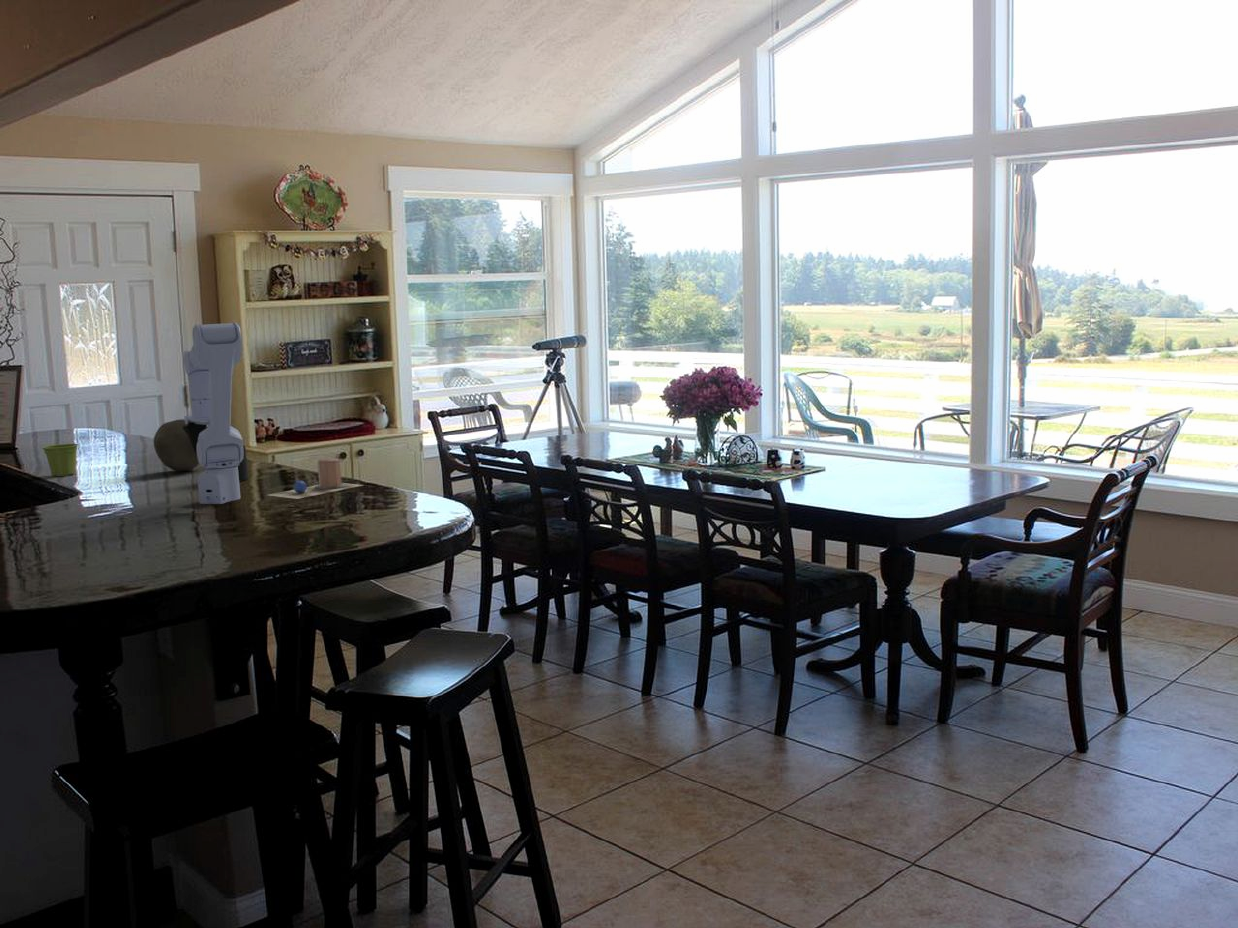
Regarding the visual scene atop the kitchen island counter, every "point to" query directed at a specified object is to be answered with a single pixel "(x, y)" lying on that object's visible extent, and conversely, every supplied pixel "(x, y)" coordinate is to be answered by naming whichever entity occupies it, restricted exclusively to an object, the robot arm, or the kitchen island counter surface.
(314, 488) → the board
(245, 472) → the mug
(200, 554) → the kitchen island counter surface
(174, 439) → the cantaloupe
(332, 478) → the wooden block
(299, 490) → the marble
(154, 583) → the kitchen island counter surface
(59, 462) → the plant pot
